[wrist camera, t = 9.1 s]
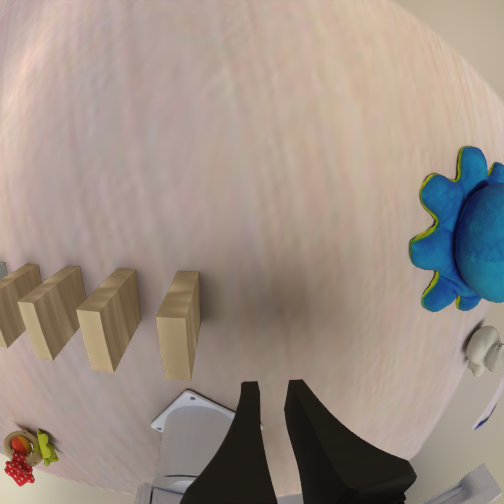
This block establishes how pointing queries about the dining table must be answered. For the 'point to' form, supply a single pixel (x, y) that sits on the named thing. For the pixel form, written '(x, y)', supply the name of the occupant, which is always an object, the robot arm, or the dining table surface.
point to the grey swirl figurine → (485, 351)
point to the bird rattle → (27, 454)
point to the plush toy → (463, 234)
